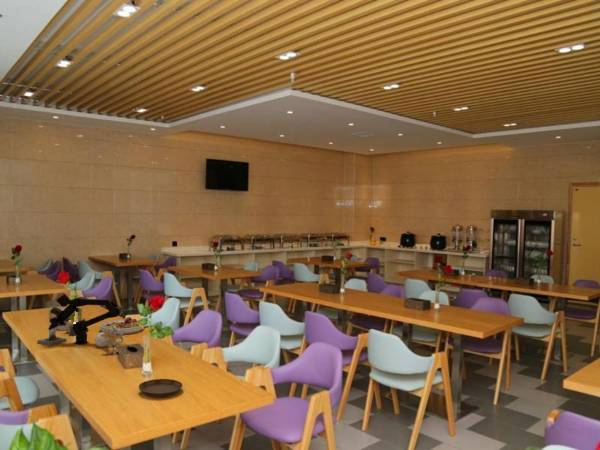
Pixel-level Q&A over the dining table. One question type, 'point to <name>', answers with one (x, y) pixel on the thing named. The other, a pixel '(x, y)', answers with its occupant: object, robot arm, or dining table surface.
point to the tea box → (63, 326)
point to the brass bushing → (68, 326)
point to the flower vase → (109, 339)
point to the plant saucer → (160, 387)
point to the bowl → (122, 326)
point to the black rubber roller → (72, 330)
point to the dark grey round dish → (51, 341)
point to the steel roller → (52, 333)
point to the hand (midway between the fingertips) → (50, 328)
